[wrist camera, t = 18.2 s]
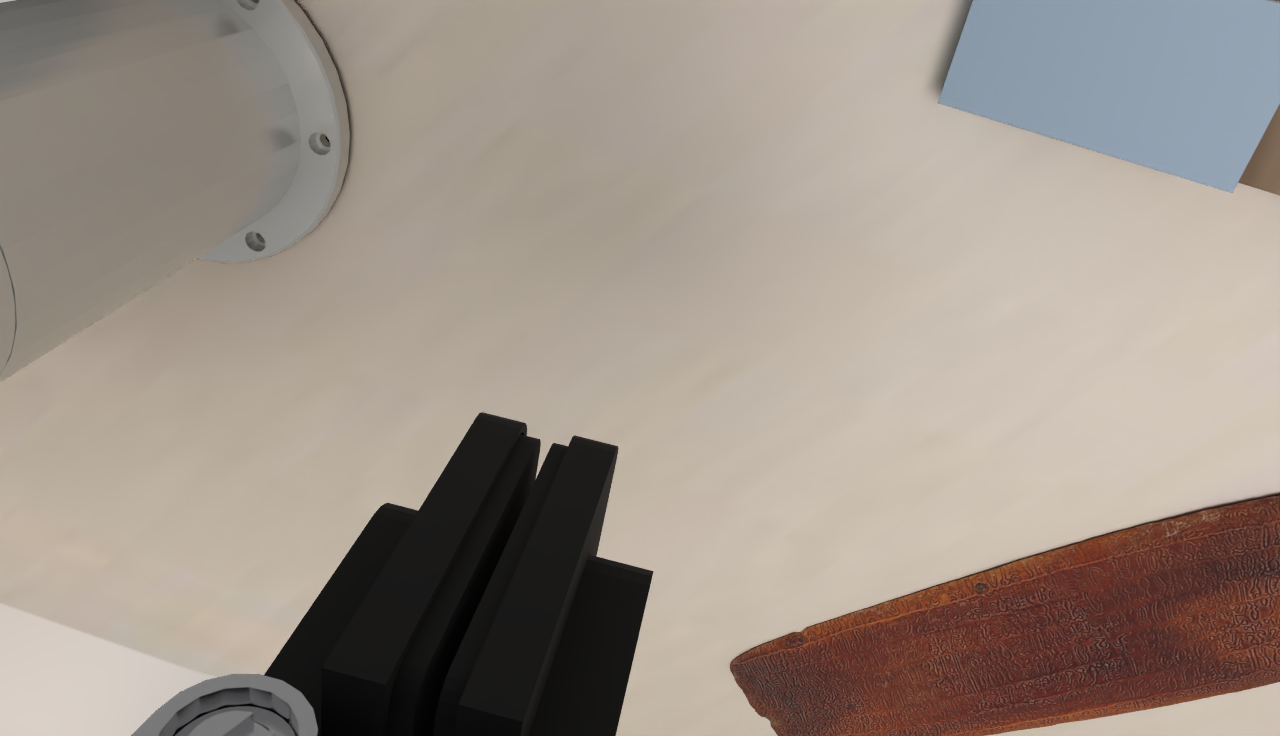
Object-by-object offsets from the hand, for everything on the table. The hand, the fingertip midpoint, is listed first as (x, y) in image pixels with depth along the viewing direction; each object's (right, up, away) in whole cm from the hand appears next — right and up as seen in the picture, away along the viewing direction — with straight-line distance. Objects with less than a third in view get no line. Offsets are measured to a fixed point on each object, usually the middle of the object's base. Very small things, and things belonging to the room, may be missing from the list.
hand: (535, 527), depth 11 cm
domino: (+12, +13, +19) cm, 26 cm away
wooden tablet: (+19, -11, +32) cm, 39 cm away
